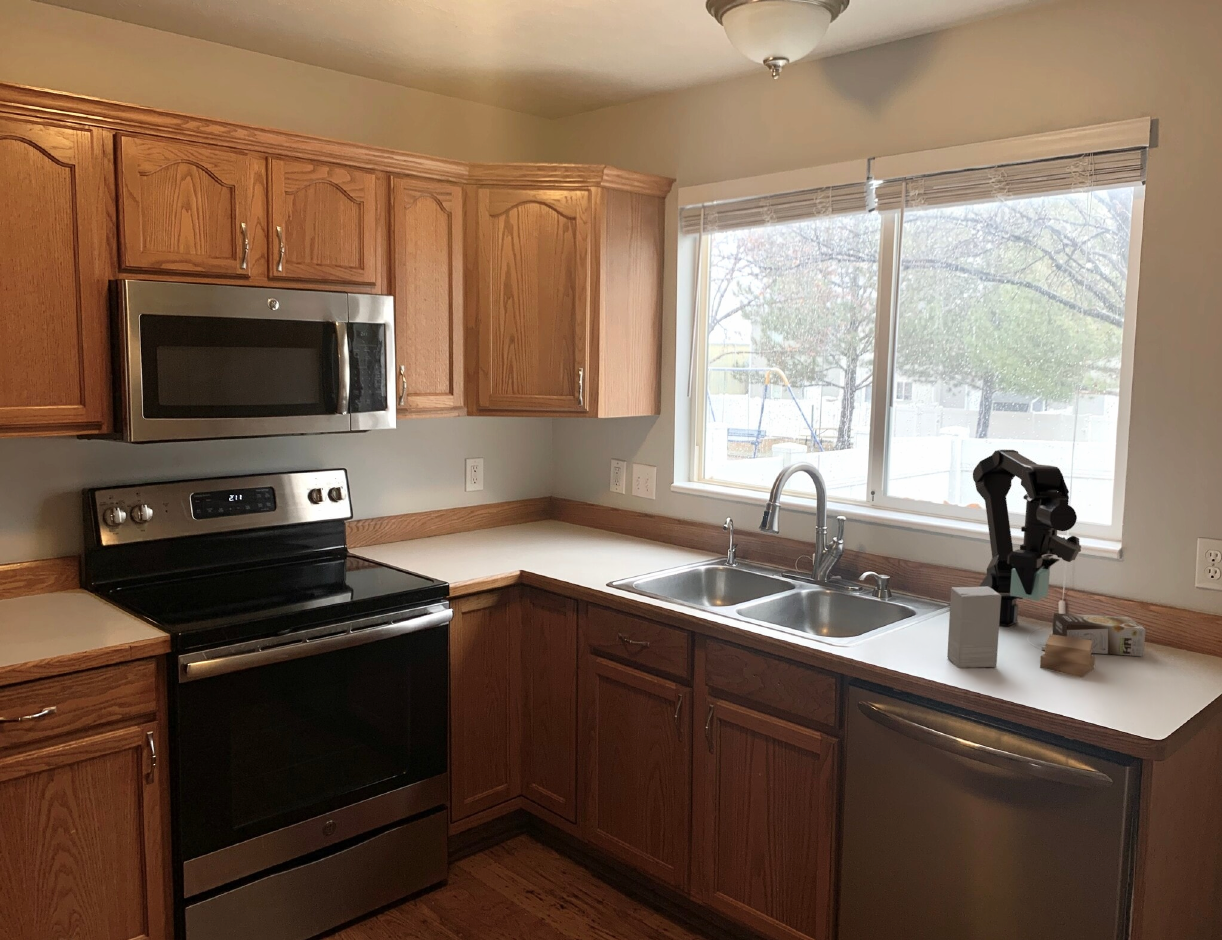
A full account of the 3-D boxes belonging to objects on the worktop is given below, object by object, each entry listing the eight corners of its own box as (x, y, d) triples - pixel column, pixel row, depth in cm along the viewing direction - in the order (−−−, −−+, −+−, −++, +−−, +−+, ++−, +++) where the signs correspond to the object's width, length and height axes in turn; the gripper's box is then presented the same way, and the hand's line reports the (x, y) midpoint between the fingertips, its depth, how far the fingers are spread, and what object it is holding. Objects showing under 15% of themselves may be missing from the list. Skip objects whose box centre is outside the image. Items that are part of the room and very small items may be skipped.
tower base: (1039, 670, 193) (1040, 656, 193) (1053, 661, 199) (1054, 647, 199) (1081, 679, 188) (1082, 665, 188) (1093, 670, 194) (1095, 656, 193)
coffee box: (1146, 628, 201) (1067, 623, 203) (1143, 657, 202) (1065, 652, 204) (1128, 616, 210) (1053, 612, 212) (1126, 644, 211) (1051, 640, 213)
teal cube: (1009, 595, 210) (1011, 569, 210) (1020, 591, 215) (1022, 565, 214) (1037, 600, 206) (1039, 573, 205) (1047, 596, 210) (1049, 569, 210)
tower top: (1044, 658, 192) (1045, 643, 191) (1048, 647, 199) (1049, 634, 198) (1088, 665, 188) (1089, 650, 187) (1091, 654, 195) (1092, 640, 194)
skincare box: (983, 658, 199) (989, 585, 197) (998, 669, 192) (1004, 593, 190) (944, 658, 198) (949, 584, 196) (957, 669, 191) (962, 593, 189)
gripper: (1063, 533, 195) (1057, 606, 197) (1091, 523, 209) (1086, 591, 211) (1008, 525, 203) (1003, 596, 205) (1039, 516, 216) (1034, 582, 218)
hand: (1033, 592), depth 209 cm, fingers closed on teal cube, 6 cm apart
